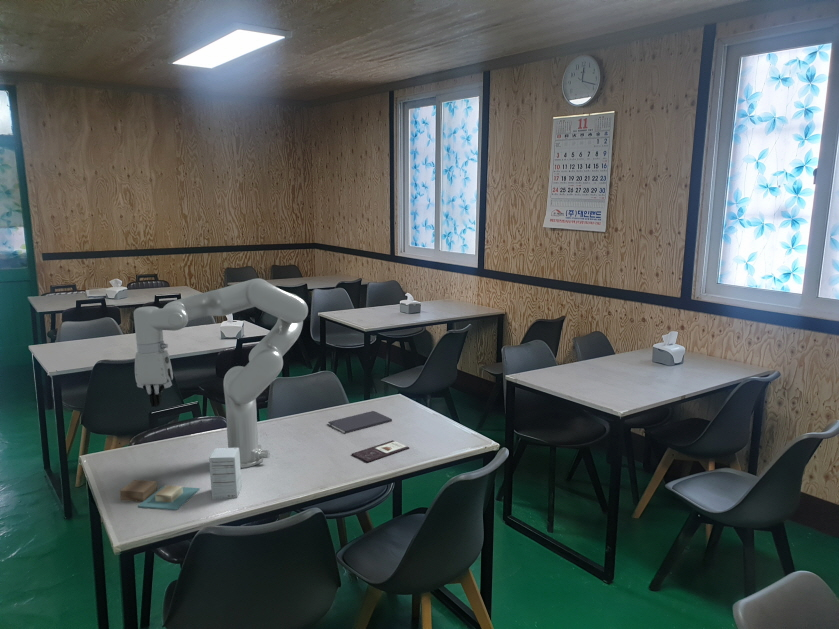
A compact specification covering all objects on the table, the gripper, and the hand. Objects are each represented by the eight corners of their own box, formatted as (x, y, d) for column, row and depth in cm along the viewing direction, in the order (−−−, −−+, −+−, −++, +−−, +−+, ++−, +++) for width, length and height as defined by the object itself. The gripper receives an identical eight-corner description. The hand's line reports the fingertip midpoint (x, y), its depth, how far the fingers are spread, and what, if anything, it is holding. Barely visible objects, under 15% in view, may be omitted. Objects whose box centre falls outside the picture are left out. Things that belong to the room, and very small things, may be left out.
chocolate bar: (351, 453, 213) (392, 440, 225) (351, 456, 213) (392, 442, 225) (367, 461, 206) (409, 447, 218) (367, 464, 207) (409, 449, 218)
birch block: (166, 485, 185) (167, 491, 186) (155, 494, 180) (155, 501, 180) (182, 486, 185) (182, 492, 185) (171, 495, 179) (171, 502, 179)
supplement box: (216, 488, 189) (214, 447, 187) (242, 487, 190) (240, 446, 187) (211, 499, 182) (208, 457, 180) (237, 498, 182) (235, 456, 180)
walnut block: (157, 490, 187) (156, 481, 187) (143, 501, 180) (142, 492, 180) (135, 489, 188) (134, 479, 188) (121, 500, 181) (120, 490, 181)
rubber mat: (199, 489, 188) (199, 488, 188) (176, 510, 175) (176, 508, 175) (163, 486, 190) (163, 485, 190) (137, 507, 177) (137, 505, 177)
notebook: (344, 435, 233) (392, 422, 246) (344, 431, 233) (392, 418, 246) (327, 425, 243) (373, 414, 256) (327, 421, 243) (373, 410, 255)
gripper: (180, 344, 195) (185, 401, 198) (133, 344, 196) (139, 401, 200) (168, 350, 188) (174, 409, 191) (120, 350, 189) (126, 409, 192)
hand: (156, 405), depth 195 cm, fingers closed
